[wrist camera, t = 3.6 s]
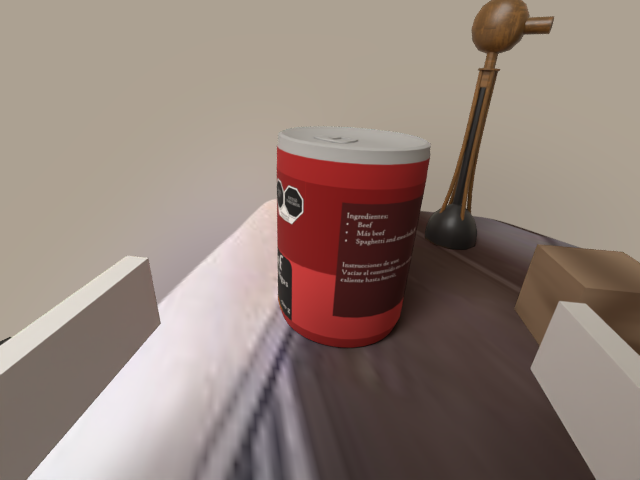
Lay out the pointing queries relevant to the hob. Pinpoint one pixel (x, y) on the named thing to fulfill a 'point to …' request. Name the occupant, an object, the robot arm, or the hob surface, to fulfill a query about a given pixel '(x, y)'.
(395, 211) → the canned food
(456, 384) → the hob surface
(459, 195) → the wooden tabletop sculpture
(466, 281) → the hob surface
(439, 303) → the hob surface
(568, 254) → the walnut block
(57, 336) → the robot arm
